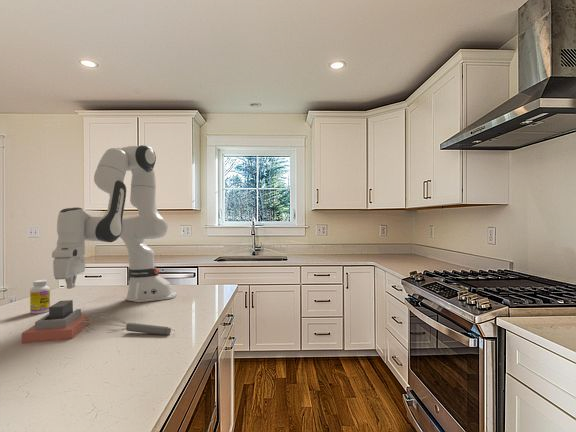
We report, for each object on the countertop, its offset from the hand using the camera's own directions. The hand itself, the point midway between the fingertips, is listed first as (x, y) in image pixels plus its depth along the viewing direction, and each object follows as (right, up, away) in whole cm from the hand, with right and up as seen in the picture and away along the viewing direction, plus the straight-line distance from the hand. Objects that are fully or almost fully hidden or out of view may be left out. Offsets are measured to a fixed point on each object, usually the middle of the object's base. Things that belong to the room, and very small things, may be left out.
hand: (70, 288), depth 128 cm
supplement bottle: (-21, -13, +14) cm, 29 cm away
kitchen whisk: (+27, -13, -13) cm, 33 cm away
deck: (+3, -12, -12) cm, 18 cm away
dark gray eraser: (+3, -9, -9) cm, 13 cm away
